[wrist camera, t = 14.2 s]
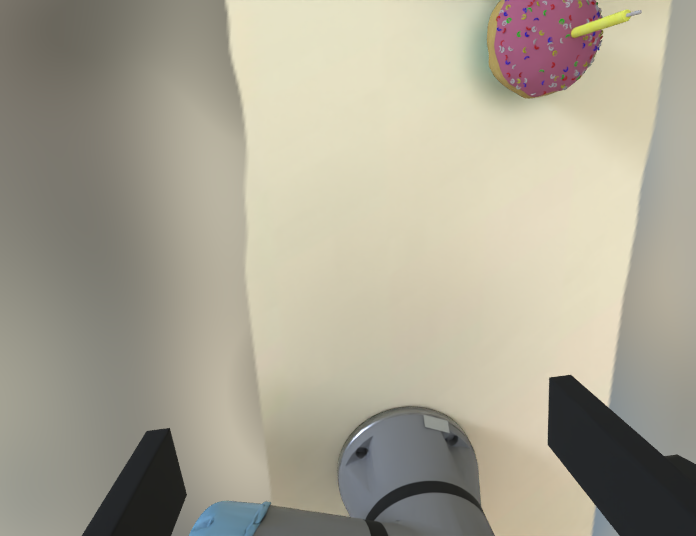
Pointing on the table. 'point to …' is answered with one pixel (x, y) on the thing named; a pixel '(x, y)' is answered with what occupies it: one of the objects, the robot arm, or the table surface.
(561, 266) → the table surface
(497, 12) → the cupcake
